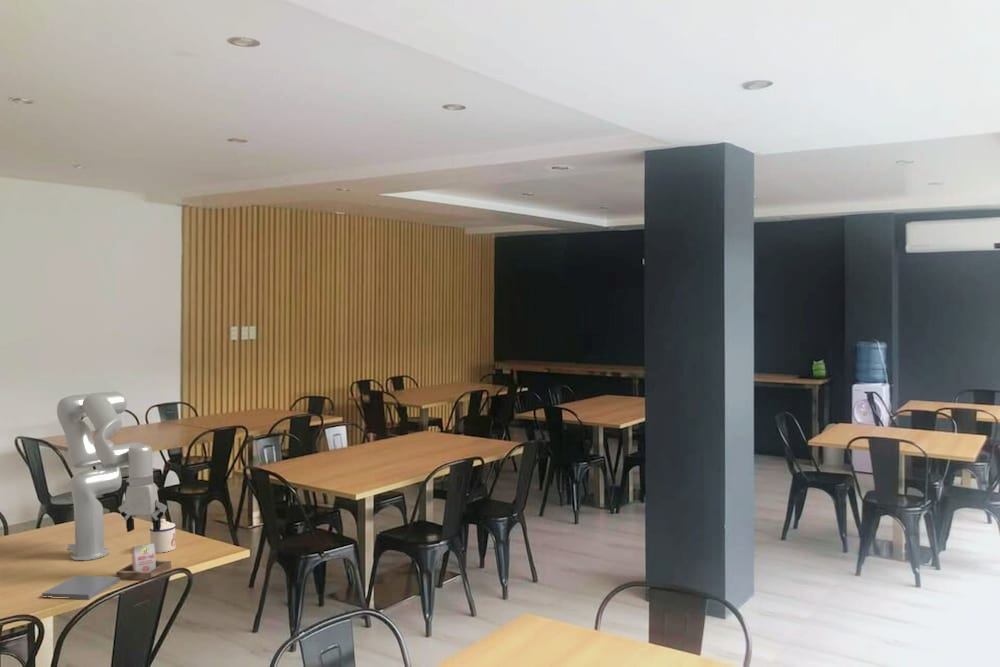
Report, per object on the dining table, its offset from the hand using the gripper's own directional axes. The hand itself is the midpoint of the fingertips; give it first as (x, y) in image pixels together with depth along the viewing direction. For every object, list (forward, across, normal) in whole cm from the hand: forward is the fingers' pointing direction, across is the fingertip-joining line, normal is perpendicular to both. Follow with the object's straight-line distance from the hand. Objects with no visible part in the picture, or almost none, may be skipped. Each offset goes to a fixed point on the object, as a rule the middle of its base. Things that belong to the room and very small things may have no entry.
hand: (143, 530), depth 270 cm
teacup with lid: (+15, -10, +27) cm, 33 cm away
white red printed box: (+15, -1, 0) cm, 15 cm away
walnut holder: (+15, -1, 0) cm, 15 cm away
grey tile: (+15, -13, -16) cm, 25 cm away
